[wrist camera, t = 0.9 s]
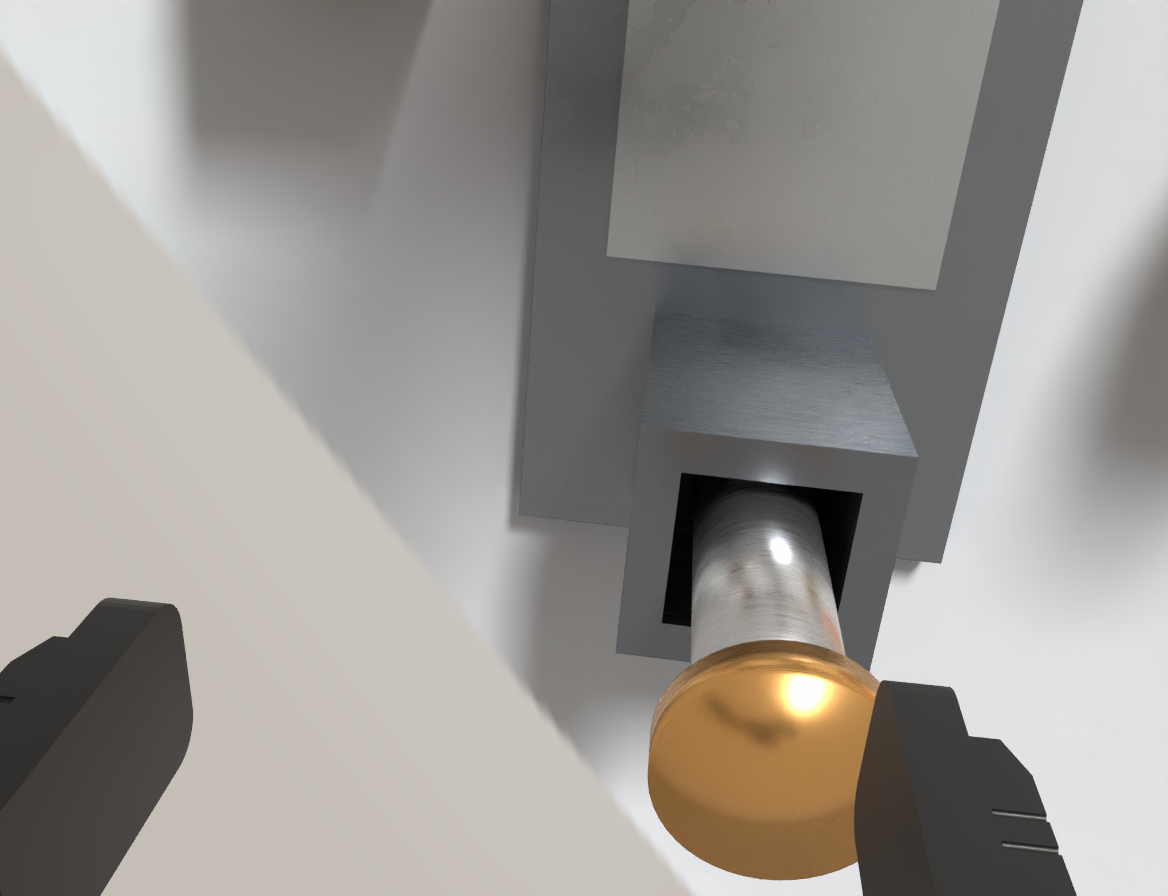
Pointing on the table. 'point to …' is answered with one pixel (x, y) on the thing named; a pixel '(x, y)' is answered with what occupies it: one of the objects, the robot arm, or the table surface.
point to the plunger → (761, 694)
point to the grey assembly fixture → (777, 270)
